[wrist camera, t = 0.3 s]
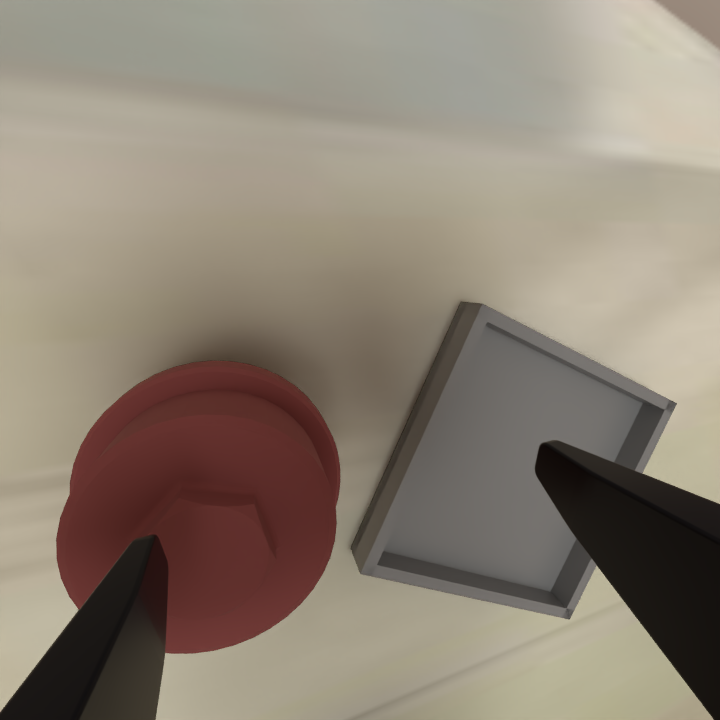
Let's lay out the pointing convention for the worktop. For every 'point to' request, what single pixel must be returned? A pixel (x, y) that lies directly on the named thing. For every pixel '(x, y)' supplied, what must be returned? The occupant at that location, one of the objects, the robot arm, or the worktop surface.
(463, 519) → the tray
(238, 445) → the mechanical component
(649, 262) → the worktop surface
